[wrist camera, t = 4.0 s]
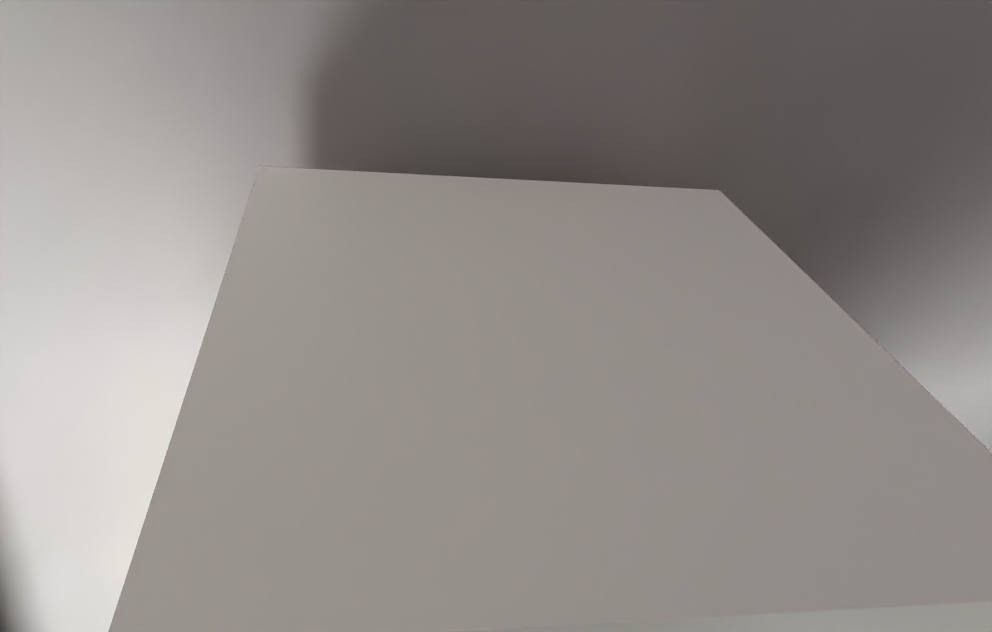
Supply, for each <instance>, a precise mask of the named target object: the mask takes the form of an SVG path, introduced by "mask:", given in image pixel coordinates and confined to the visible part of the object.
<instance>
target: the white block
mask: <svg viewBox="0 0 992 632" xmlns="http://www.w3.org/2000/svg"><path fill="white" fill-rule="evenodd" d="M109 632H992V453H991V452H990V451H989V450H988V449H987V448H986V447H985V446H984V445H983V444H982V443H981V442H980V441H979V440H978V439H977V438H976V437H975V436H974V435H972V434H971V433H970V432H969V431H968V430H967V429H966V428H965V427H964V426H963V425H962V424H961V423H960V422H959V421H958V420H957V419H956V418H955V417H954V416H953V415H952V414H951V413H950V412H949V411H948V410H947V409H946V408H945V407H944V406H942V405H941V404H940V403H939V402H938V401H937V400H936V399H935V398H934V397H933V396H932V395H931V394H930V393H929V392H928V391H927V390H926V389H925V388H924V387H923V386H922V385H921V384H920V383H919V382H918V381H917V380H916V379H915V378H913V377H912V376H911V375H910V374H909V373H908V372H907V371H906V370H905V369H904V368H903V367H902V366H901V365H900V364H899V363H898V362H897V361H896V360H895V359H894V358H893V357H892V356H891V355H890V354H889V353H888V352H887V351H886V350H885V349H883V348H882V347H881V346H880V345H879V344H878V343H877V342H876V341H875V340H874V339H873V338H872V337H871V336H870V335H869V334H868V333H867V332H866V331H865V330H864V329H863V328H862V327H861V326H860V325H859V324H858V323H857V322H856V321H854V320H853V319H852V318H851V317H850V316H849V315H848V314H847V313H846V312H845V311H844V310H843V309H842V308H841V307H840V306H839V305H838V304H837V303H836V302H835V301H834V300H833V299H832V298H831V297H830V296H829V295H828V294H827V293H826V292H824V291H823V290H822V289H821V288H820V287H819V286H818V285H817V284H816V283H815V282H814V281H813V280H812V279H811V278H810V277H809V276H808V275H807V274H806V273H805V272H804V271H803V270H802V269H801V268H800V267H799V266H798V265H797V264H795V263H794V262H793V261H792V260H791V259H790V258H789V257H788V256H787V255H786V254H785V253H784V252H783V251H782V250H781V249H780V248H779V247H778V246H777V245H776V244H775V243H774V242H773V241H772V240H771V239H770V238H769V237H768V236H766V235H765V234H764V233H763V232H762V231H761V230H760V229H759V228H758V227H757V226H756V225H755V224H754V223H753V222H752V221H751V220H750V219H749V218H748V217H747V216H746V215H745V214H744V213H743V212H742V211H741V210H740V209H739V208H738V207H736V206H735V205H734V204H733V203H732V202H731V201H730V200H729V199H728V198H727V197H726V196H725V195H724V194H723V193H722V192H721V191H720V190H708V189H689V188H670V187H651V186H632V185H613V184H594V183H574V182H555V181H536V180H517V179H498V178H479V177H460V176H440V175H421V174H402V173H383V172H364V171H345V170H326V169H306V168H287V167H268V166H259V169H258V172H257V175H256V178H255V182H254V185H253V188H252V191H251V194H250V197H249V200H248V203H247V206H246V209H245V212H244V215H243V219H242V222H241V225H240V228H239V231H238V234H237V237H236V240H235V243H234V246H233V249H232V252H231V256H230V259H229V262H228V265H227V268H226V271H225V274H224V277H223V280H222V283H221V286H220V289H219V293H218V296H217V299H216V302H215V305H214V308H213V311H212V314H211V317H210V320H209V323H208V326H207V330H206V333H205V336H204V339H203V342H202V345H201V348H200V351H199V354H198V357H197V360H196V363H195V367H194V370H193V373H192V376H191V379H190V382H189V385H188V388H187V391H186V394H185V397H184V401H183V404H182V407H181V410H180V413H179V416H178V419H177V422H176V425H175V428H174V431H173V434H172V438H171V441H170V444H169V447H168V450H167V453H166V456H165V459H164V462H163V465H162V468H161V471H160V475H159V478H158V481H157V484H156V487H155V490H154V493H153V496H152V499H151V502H150V505H149V508H148V512H147V515H146V518H145V521H144V524H143V527H142V530H141V533H140V536H139V539H138V542H137V545H136V549H135V552H134V555H133V558H132V561H131V564H130V567H129V570H128V573H127V576H126V579H125V582H124V586H123V589H122V592H121V595H120V598H119V601H118V604H117V607H116V610H115V613H114V616H113V619H112V623H111V626H110V629H109Z"/></svg>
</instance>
